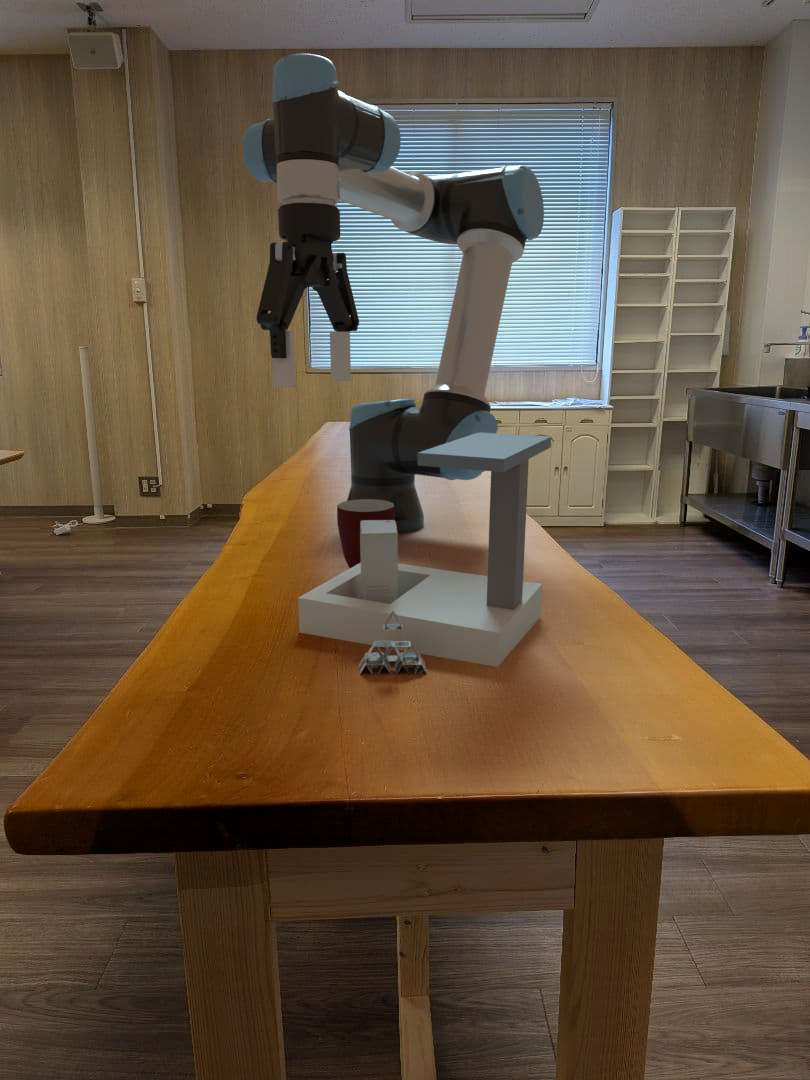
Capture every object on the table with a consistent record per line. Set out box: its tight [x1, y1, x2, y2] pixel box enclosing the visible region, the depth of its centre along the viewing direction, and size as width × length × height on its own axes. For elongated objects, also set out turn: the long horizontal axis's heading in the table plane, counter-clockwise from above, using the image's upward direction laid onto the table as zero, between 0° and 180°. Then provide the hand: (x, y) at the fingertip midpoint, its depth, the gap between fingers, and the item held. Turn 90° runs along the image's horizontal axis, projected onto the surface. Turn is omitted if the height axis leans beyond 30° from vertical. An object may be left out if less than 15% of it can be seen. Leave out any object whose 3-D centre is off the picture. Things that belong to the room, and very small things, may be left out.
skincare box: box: [360, 520, 399, 604], centre depth 84 cm, size 6×4×12 cm
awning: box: [418, 432, 552, 610], centre depth 77 cm, size 17×8×17 cm, turn 155°
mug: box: [336, 499, 395, 569], centre depth 101 cm, size 11×8×10 cm
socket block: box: [297, 562, 543, 668], centre depth 83 cm, size 16×23×5 cm
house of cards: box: [358, 610, 428, 675], centre depth 73 cm, size 9×9×8 cm
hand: (314, 383), depth 94 cm, fingers open, 13 cm apart
